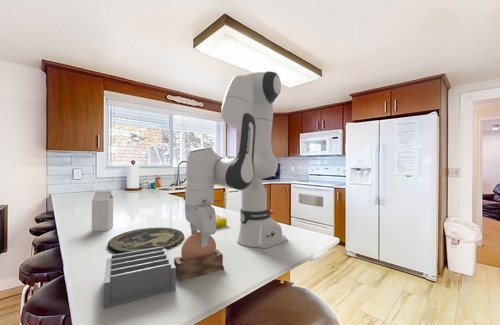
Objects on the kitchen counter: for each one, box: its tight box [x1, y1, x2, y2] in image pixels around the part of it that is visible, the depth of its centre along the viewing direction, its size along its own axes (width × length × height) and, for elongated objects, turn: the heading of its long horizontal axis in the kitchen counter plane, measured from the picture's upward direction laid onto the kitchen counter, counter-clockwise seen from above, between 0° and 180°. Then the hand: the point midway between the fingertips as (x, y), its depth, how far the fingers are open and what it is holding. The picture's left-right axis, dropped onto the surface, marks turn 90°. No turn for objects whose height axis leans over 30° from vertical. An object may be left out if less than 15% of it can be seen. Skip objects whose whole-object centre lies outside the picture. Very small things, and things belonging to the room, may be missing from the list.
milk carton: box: [91, 190, 114, 232], centre depth 112 cm, size 7×7×19 cm
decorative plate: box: [106, 227, 185, 254], centre depth 97 cm, size 30×2×30 cm
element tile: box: [216, 214, 228, 230], centre depth 122 cm, size 15×15×5 cm
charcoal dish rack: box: [103, 247, 177, 309], centre depth 63 cm, size 16×15×7 cm
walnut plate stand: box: [173, 249, 225, 282], centre depth 72 cm, size 14×7×4 cm, turn 120°
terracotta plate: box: [180, 231, 217, 261], centre depth 72 cm, size 11×1×11 cm, turn 120°
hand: (198, 241), depth 72 cm, fingers open, 8 cm apart
